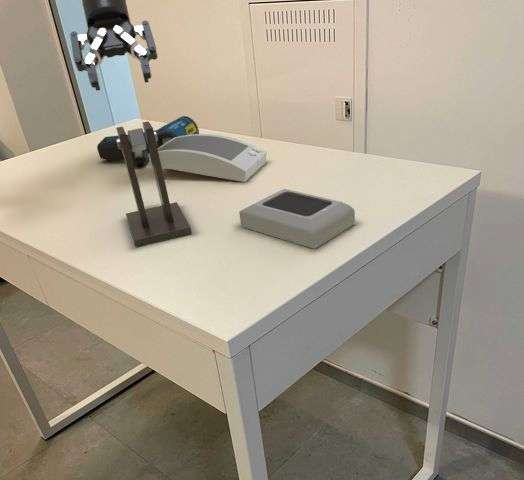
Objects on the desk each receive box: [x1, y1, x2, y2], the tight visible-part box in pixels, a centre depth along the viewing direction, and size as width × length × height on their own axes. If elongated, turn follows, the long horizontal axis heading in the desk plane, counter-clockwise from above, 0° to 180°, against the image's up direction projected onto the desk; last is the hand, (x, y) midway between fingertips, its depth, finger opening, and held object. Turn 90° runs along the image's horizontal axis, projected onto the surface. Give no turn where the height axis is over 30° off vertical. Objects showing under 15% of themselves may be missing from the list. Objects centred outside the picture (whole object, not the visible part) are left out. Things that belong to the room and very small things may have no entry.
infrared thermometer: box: [96, 115, 200, 161], centre depth 123 cm, size 6×13×20 cm
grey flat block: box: [238, 188, 356, 250], centre depth 84 cm, size 10×4×15 cm
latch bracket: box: [116, 120, 193, 248], centre depth 86 cm, size 12×9×16 cm
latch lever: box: [127, 127, 149, 171], centre depth 87 cm, size 13×4×4 cm, turn 17°
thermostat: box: [148, 133, 267, 183], centre depth 109 cm, size 11×21×6 cm, turn 68°
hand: (122, 83), depth 95 cm, fingers open, 8 cm apart
